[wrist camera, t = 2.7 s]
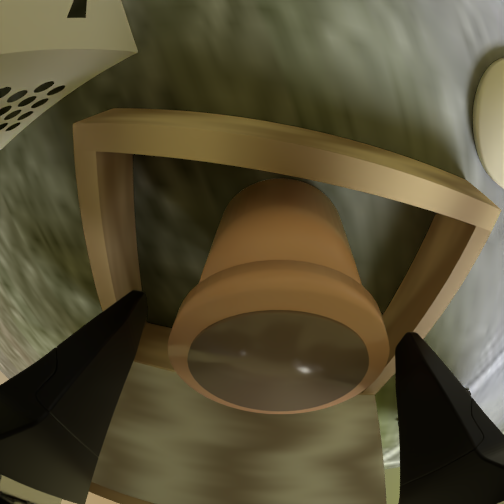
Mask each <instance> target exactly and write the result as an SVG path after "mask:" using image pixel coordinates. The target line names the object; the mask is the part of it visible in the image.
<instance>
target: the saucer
mask: <svg viewBox="0 0 504 504" xmlns="http://www.w3.org/2000/svg"><path fill="white" fill-rule="evenodd" d="M473 134H474V140H475V145H476V149H477V153H478V156H479V159H480V161H481V163H482V166H483V168H484V169H485V171H486V172H487V174H488V175H489V176H490V178H491V179H492V180H493V181H494V182H496V183H497V184H498V185H499V186H501V187H502V188H503V189H504V58H501V59H498V60H497V61H495V62H493V63H492V64H491V65H490V66H489V67H488V68H487V70H486V71H485V72H484V74H483V76H482V78H481V80H480V82H479V85H478V87H477V91H476V94H475V100H474V106H473Z"/></svg>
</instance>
